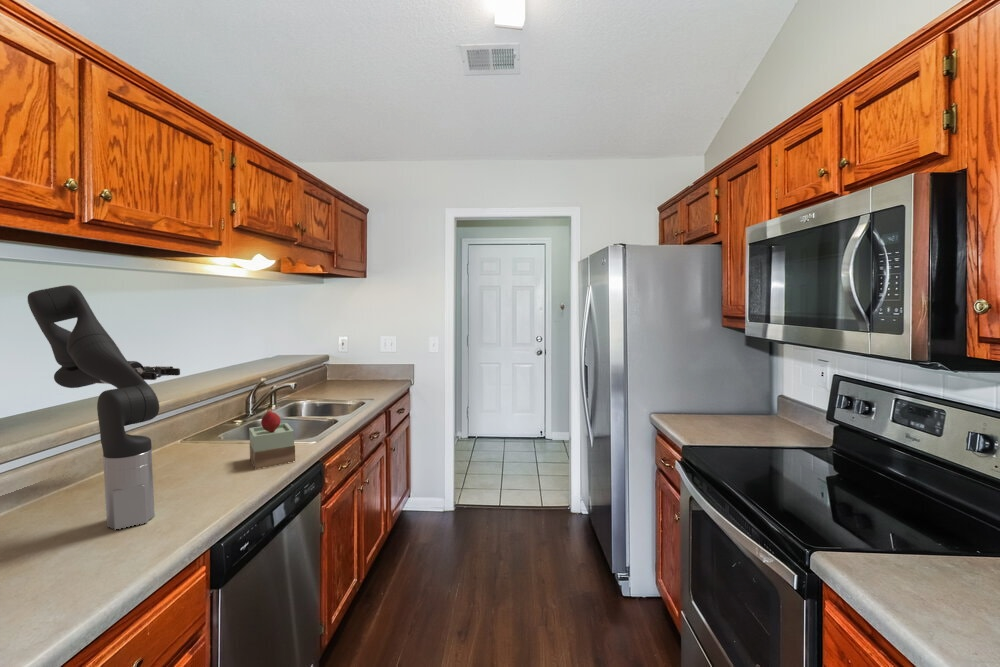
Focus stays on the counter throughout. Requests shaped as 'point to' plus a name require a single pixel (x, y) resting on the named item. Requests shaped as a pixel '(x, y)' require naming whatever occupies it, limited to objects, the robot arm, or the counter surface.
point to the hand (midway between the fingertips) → (167, 373)
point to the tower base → (272, 456)
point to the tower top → (271, 438)
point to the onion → (270, 421)
